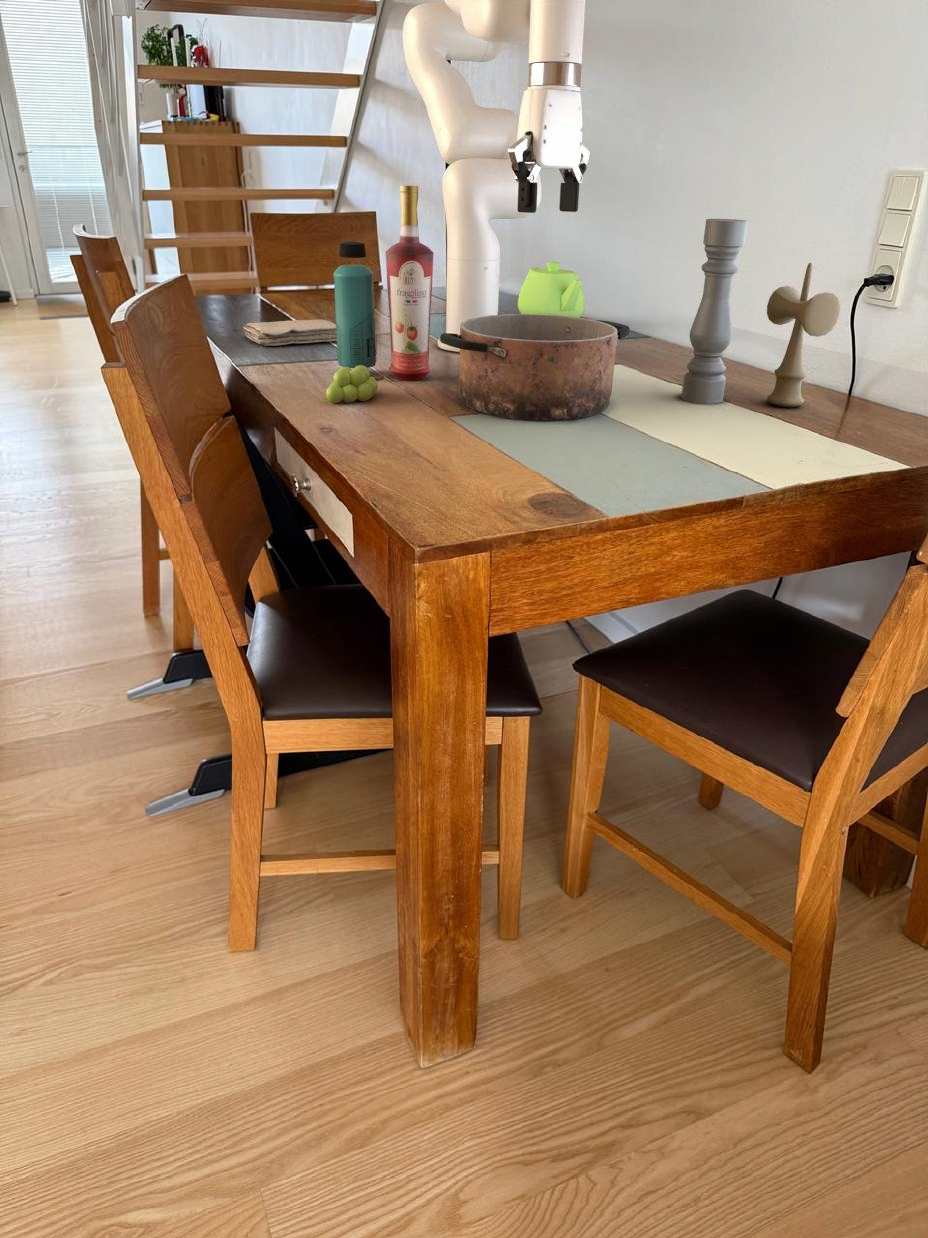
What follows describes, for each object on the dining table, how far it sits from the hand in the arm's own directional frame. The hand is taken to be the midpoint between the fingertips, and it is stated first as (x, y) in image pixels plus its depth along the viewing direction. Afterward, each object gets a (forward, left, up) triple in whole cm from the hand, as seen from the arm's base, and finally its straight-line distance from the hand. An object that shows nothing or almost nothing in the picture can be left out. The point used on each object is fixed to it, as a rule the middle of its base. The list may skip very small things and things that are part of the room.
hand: (548, 211), depth 138 cm
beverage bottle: (+17, -24, -25) cm, 39 cm away
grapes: (+29, -13, -25) cm, 40 cm away
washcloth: (+3, -53, -25) cm, 59 cm away
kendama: (-11, +37, -25) cm, 46 cm away
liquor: (+13, -16, -25) cm, 33 cm away
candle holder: (-6, +26, -25) cm, 36 cm away
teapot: (-46, -27, -25) cm, 59 cm away
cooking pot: (+13, +8, -25) cm, 29 cm away
